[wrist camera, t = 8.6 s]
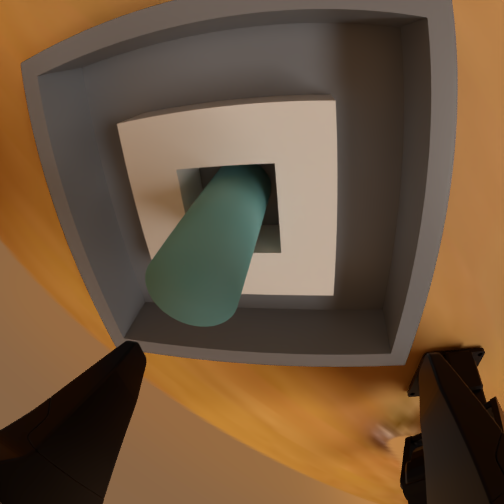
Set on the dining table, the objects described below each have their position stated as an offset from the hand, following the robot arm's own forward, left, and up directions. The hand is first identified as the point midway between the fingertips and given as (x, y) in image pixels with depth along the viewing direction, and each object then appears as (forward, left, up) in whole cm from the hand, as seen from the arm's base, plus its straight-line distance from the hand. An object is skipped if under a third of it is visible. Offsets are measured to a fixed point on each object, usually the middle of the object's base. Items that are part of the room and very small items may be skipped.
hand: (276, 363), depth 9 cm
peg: (+1, +3, -11) cm, 11 cm away
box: (+1, +3, -12) cm, 12 cm away
